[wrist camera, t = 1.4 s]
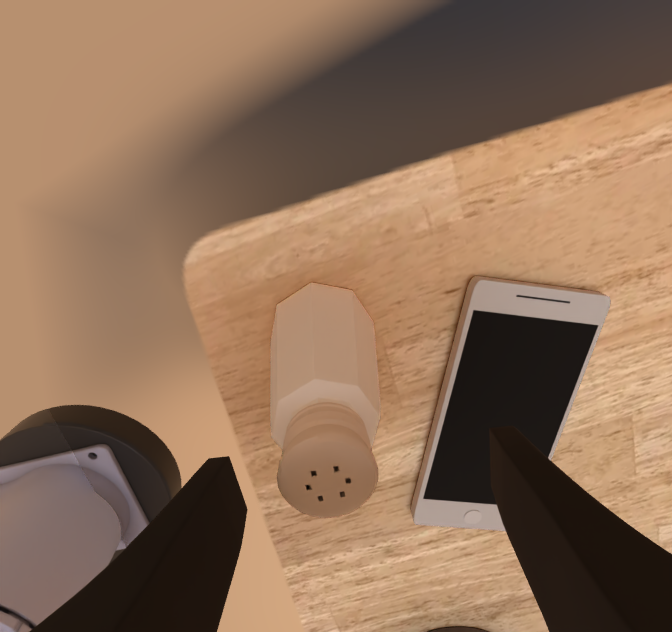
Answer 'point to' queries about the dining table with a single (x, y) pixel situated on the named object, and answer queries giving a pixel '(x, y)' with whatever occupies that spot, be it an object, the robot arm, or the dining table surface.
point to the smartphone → (503, 390)
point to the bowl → (458, 629)
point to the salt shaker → (324, 400)
